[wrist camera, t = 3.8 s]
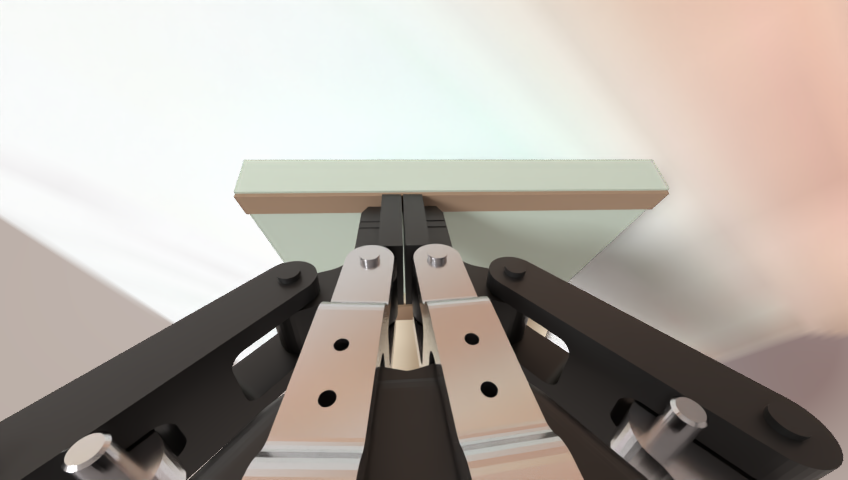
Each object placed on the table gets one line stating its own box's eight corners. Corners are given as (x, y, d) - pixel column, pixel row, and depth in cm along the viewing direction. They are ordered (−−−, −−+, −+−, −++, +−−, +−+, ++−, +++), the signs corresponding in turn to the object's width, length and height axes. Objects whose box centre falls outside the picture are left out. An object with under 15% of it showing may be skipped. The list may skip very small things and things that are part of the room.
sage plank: (652, 159, 13) (670, 191, 12) (554, 267, 21) (561, 290, 20) (244, 159, 12) (232, 195, 11) (311, 273, 20) (307, 298, 19)
